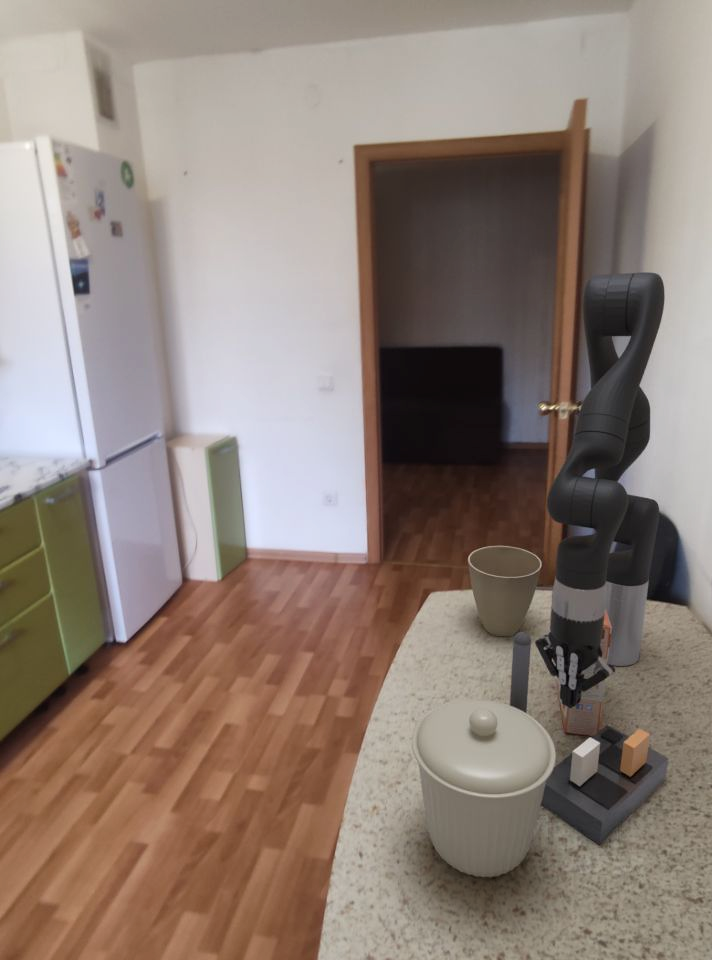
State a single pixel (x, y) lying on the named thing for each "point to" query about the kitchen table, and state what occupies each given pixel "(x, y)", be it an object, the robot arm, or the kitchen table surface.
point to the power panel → (603, 788)
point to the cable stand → (520, 671)
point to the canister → (482, 782)
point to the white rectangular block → (584, 761)
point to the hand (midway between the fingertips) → (569, 703)
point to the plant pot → (503, 586)
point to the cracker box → (587, 697)
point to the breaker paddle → (634, 752)
